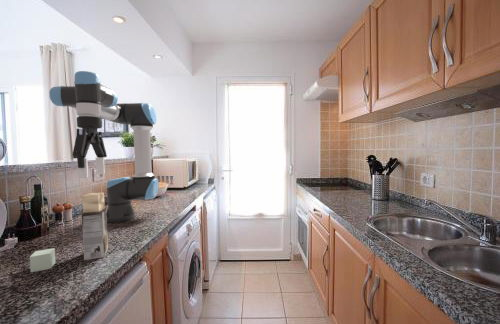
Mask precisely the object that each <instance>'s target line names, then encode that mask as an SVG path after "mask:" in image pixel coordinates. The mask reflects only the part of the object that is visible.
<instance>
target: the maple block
mask: <svg viewBox="0 0 500 324" xmlns="http://www.w3.org/2000/svg"><path fill="white" fill-rule="evenodd" d="M81 197H82V214H83V213H86V212H99V211H101V210H103V209H105V208H106V207H105V205H106V204H105V193H104V192H91V193H90V192H89V193H86V194H84V195H81Z"/></svg>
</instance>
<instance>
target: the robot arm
mask: <svg viewBox="0 0 500 324" xmlns="http://www.w3.org/2000/svg"><path fill="white" fill-rule="evenodd" d="M73 80H74V82H73V84H74V85H73V86H70V85H68V86H64V85H59V86H53V87H51V88H50V89H49V100H50V101H51V102H52V104H53V105H55V106H57V107H70V108H74V109H75V111H76V115H77V117H76V127H77V128H76V137H75V141H74V145H73V151H72V157H73V159H76V161H77V162H76V163H77V178H78V179H88V178H89V166H88V165H89V163H88V158H87V154H88V151H89V149H90V146H91V147H92V149H93V151H94V154H95V156H96V157H95V170H96V171H95V172H96V173H95V174H96V175H105V173H106V172H105V170H106V168H105V158H107V157H108V156H107V155H108V154H107V151H106V147H105V143H104V139H103V133H102V131H98V129H102V128H103V119H104V120H106V121H109V122H112V123H116V124H120V125H129V127H130V129H132V130H133V149H134V153H133V154H134V172H135V173H134V174H133V175H132V176H131V177H132V179H131V177H130V176H123V177H119V178H113V179H109V180H107V182H106V196H107V207H106V216H107V223H120V222H121V223H122V222H126V221H130V220H133V219H135V218H136V212H135V210H134V208H133V205H132V201H135V200H139V201H140V200H144V201H145V200H153V199H155V198H156V197H157V194H158V192H159V186H160V183H159V179H158V178H156V176H155V175H156V174H154V173H153V169H152V166H153V165H152V146H151V145H152V144H151V130H152V129H153V128H154V125H155V124H157V115H156V112H155V109H154V108H155V107H153V105H152V104H151V103H147V102H134V103H132V102H131V103H128V102H127V103H125V102H124V103H118V100H119V99H118V95H117V93H116V92H115V91H113V90H112V89H111V88H108V87H106V86H105V85H103V84H101V79H100V76H99V74H97V73H96V72H92V71H86V70H83V71H82V70H79V71H76V72H75V73H74V79H73ZM101 117H102V118H103V119H102V118H101Z"/></svg>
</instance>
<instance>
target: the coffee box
mask: <svg viewBox="0 0 500 324" xmlns="http://www.w3.org/2000/svg"><path fill="white" fill-rule="evenodd" d="M106 211H107V207H105V209H103V210H101V211H99V212H86V213H83V212H82V214H81V226H82V243H83V244H82V245H83V261H87V260H88V261H89V260H94V259H100V258H105V256H106V254H107V252H108V250H109V238H108V237H109V235H108V222H107V216H106Z"/></svg>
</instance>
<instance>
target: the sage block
mask: <svg viewBox="0 0 500 324" xmlns="http://www.w3.org/2000/svg"><path fill="white" fill-rule="evenodd" d="M55 264H56V251H55V247H53V248H47V249H46V248H45V249H41V250H35V251H34V252H33V253H32V254H31V255H30V256H29V267H30V269H29V271H30V273H35V272H40V271H45V270H50V269H52V267H53V266H54V265H55Z"/></svg>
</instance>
